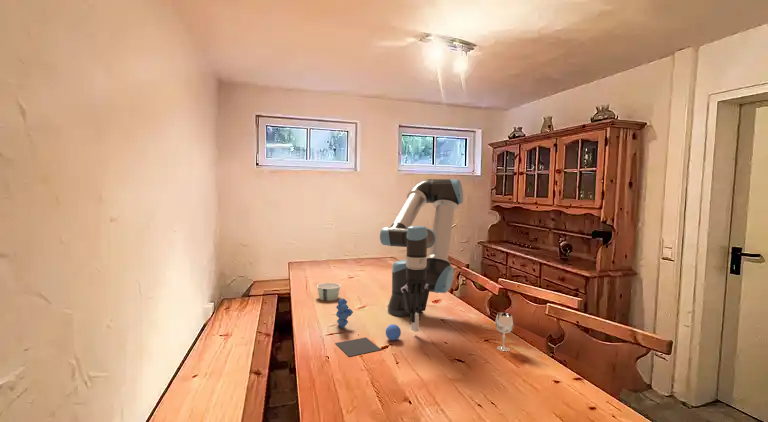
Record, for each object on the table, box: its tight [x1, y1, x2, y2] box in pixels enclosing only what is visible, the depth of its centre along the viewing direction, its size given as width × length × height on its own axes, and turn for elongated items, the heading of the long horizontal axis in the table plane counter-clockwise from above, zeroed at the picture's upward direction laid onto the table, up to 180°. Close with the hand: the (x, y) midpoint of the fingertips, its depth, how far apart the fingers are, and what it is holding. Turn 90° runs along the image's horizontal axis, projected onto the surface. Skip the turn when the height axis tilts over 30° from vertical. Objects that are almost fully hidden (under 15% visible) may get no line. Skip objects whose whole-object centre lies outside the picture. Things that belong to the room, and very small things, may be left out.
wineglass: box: [495, 312, 514, 353], centre depth 129 cm, size 6×6×12 cm
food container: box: [316, 282, 342, 302], centre depth 188 cm, size 12×12×6 cm
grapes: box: [335, 298, 354, 329], centre depth 147 cm, size 12×7×12 cm, turn 18°
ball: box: [385, 323, 402, 341], centre depth 136 cm, size 6×6×6 cm
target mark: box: [334, 337, 382, 358], centre depth 129 cm, size 12×12×1 cm
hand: (415, 330), depth 140 cm, fingers closed
